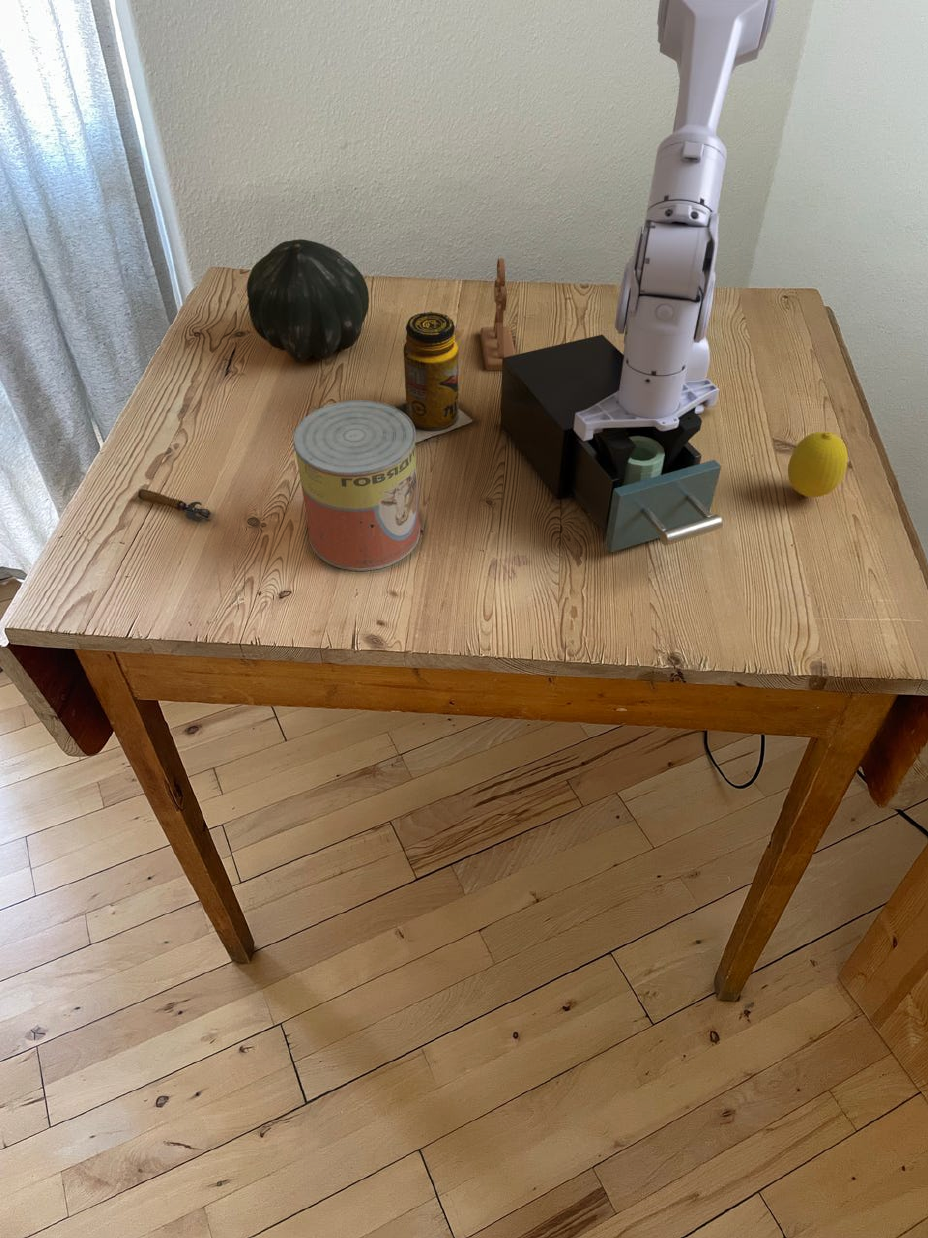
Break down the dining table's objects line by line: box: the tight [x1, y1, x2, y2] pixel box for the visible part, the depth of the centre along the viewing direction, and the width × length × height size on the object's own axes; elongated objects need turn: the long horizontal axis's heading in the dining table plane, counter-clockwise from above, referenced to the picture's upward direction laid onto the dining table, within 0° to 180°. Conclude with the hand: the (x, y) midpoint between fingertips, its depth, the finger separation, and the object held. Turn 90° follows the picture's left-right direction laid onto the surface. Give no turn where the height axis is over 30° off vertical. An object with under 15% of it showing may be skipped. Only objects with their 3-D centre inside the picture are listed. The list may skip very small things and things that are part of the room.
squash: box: [246, 238, 370, 362], centre depth 112 cm, size 14×15×15 cm
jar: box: [622, 436, 665, 486], centre depth 91 cm, size 5×5×5 cm
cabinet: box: [499, 334, 624, 501], centre depth 98 cm, size 14×12×9 cm
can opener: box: [137, 488, 211, 523], centre depth 94 cm, size 9×2×1 cm, turn 62°
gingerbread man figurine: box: [480, 257, 517, 372], centre depth 111 cm, size 9×4×12 cm, turn 4°
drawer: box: [564, 426, 723, 554], centre depth 90 cm, size 18×11×7 cm, turn 23°
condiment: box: [394, 311, 473, 444], centre depth 101 cm, size 7×8×12 cm
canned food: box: [292, 399, 421, 572], centre depth 88 cm, size 11×11×12 cm
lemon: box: [787, 431, 849, 498], centre depth 93 cm, size 6×6×8 cm
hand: (634, 478), depth 91 cm, fingers closed on jar, 5 cm apart
